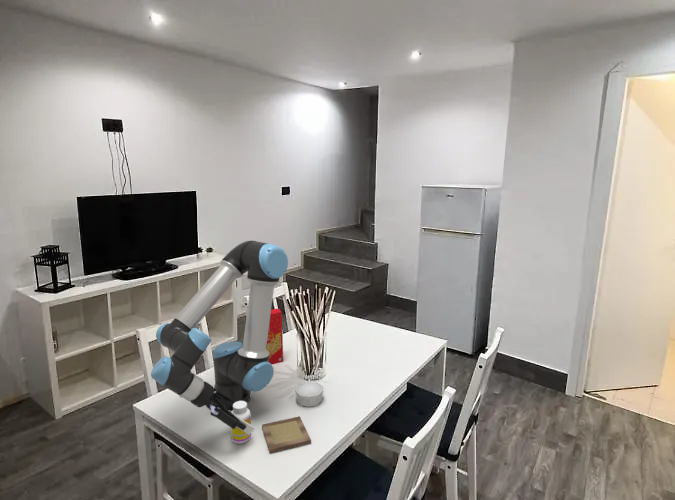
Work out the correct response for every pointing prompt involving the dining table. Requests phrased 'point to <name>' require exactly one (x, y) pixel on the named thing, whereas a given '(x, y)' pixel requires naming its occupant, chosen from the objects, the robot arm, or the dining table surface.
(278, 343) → the food packaging
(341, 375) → the dining table surface
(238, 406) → the supplement bottle
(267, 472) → the dining table surface
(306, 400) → the ramekin
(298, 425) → the walnut plinth
